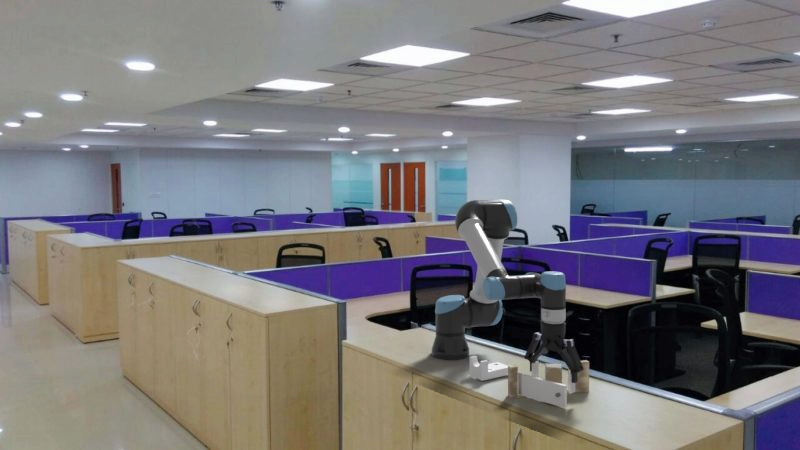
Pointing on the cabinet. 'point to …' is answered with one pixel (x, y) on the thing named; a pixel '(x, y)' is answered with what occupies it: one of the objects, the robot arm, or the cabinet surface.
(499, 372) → the bracket
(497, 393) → the cabinet surface
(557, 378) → the box
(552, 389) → the door
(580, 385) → the door frame
